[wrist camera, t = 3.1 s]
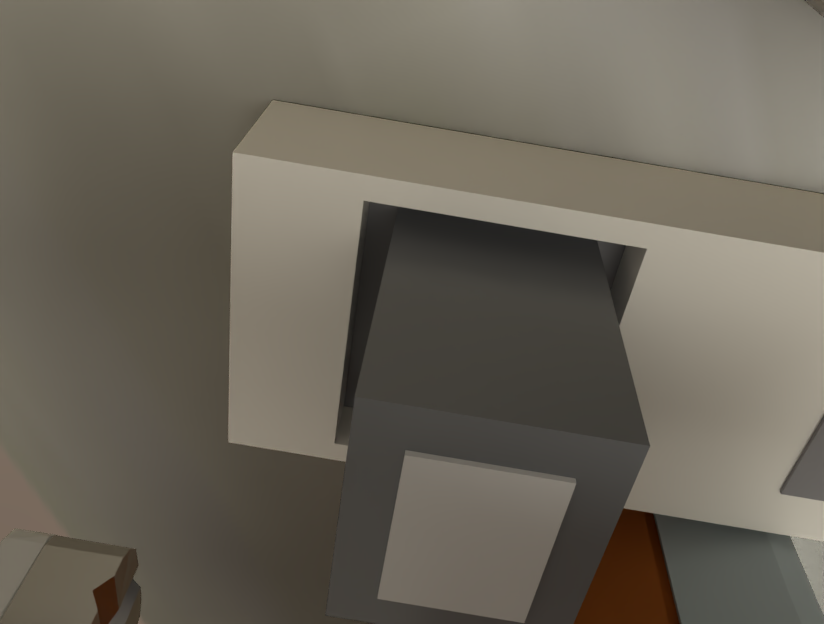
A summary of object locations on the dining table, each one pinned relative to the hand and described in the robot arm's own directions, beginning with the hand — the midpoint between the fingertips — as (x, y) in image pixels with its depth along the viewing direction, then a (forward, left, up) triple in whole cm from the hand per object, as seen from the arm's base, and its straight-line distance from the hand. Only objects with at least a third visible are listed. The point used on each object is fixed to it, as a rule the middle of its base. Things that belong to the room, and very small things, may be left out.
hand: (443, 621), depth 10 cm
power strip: (0, -9, -9) cm, 13 cm away
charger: (0, 0, -8) cm, 8 cm away
